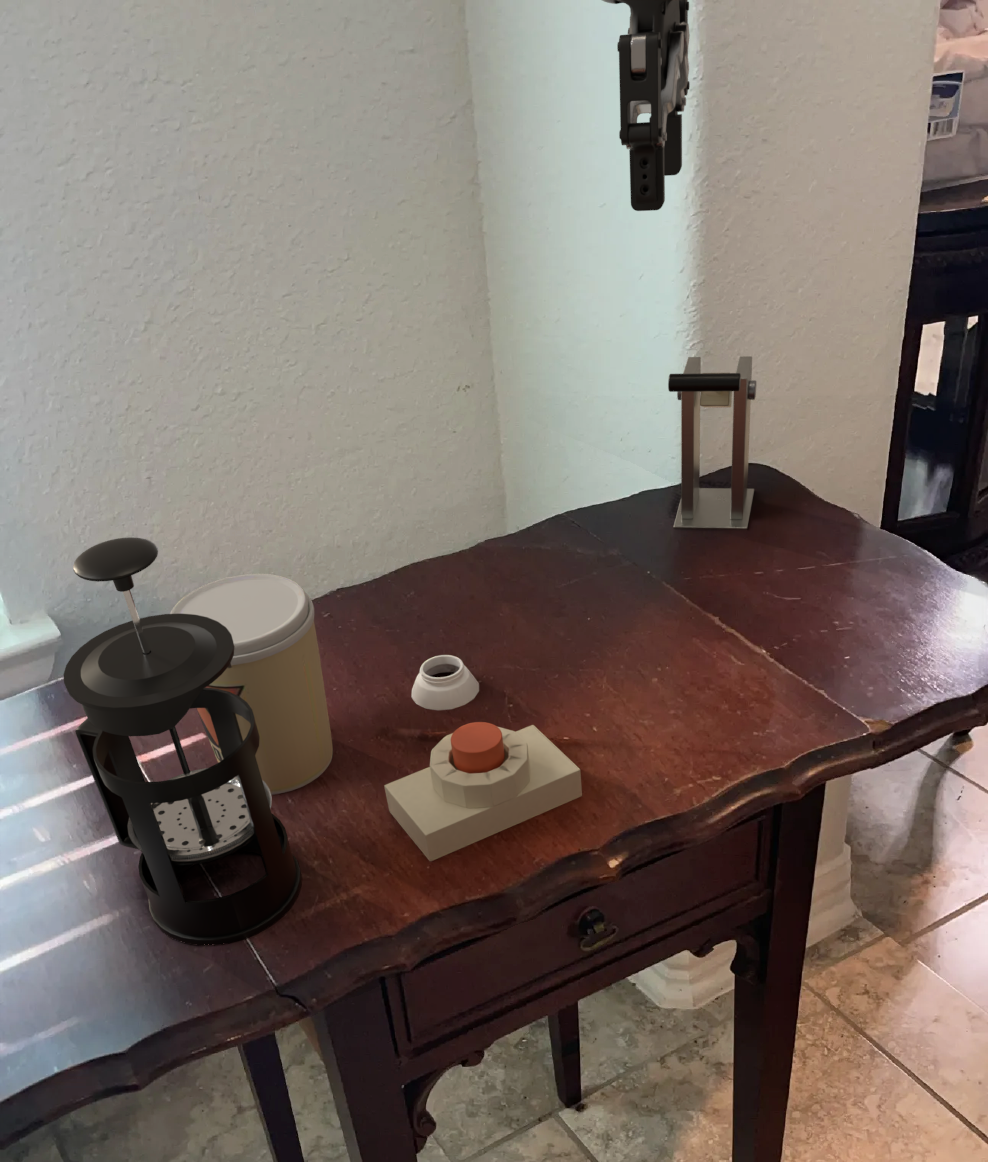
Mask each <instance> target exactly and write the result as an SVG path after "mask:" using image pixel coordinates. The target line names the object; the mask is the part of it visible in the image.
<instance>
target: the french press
mask: <svg viewBox="0 0 988 1162" xmlns="http://www.w3.org/2000/svg"><path fill="white" fill-rule="evenodd" d="M158 555H159V549H158V547H157V545H156V544H155V542H153V541H151V540H149V539H147V538H142V537H135V536H134V537H133V536H129V537H128V536H127V537H119V538H113V539H107V540H105V541H102V542H100V543H97V544H94V545H93V546H91V547H88V549H86V550H84V551H82V553H80V554H79V555H78V556H77V558H76V559H75V560H74V562H73V566H72V567H73V568H72V569H73V572H74V574H75V575H76V576H77V577H79V579H83V580H85V581H88V582H89V581H90V582H110V581H112V582H113V585H114V587H115V590H116V591H117V592H119V593H121V592H122V594H123V597H124V600H125V603H126V605H127V608H128V612H129V615H130V618H131V620H129V621H128V622H124V623H120V624H118V625H116V626H113V627H111V628H108V629H107V630H104V631H102V632H101V633H99V634H98V635H95V636H94V637H93V638H91V639H89V640H88V641H86V642H85V643H84V644H83V645H82V646H80V647H79V648H78V649H77V650H76V651H75V652H74V653H73V655H71V657H70V659H69V660H68V662H67V663H66V665H65V668H64V671H63V684H64V687H65V689H66V691H67V693H68V695H69V696H70V697H71V698H72V699H73V700H74V701H75V702H76V703H78V704H80V705H81V706H82V708H83V711H84V713H85V716H86V717H87V718H85V720H84V721H82V722H81V723H80V724H79V726H77V727H76V729H75V736H76V738H77V740H78V743H79V746H80V748H81V751H82V753H83V756H84V758H85V761H86V763H87V766H88V768H89V771H90V774H91V776H92V778H93V780H94V783H95V786H96V788H97V791H98V793H99V796H100V799H101V801H102V803H103V807H104V809H105V811H106V813H107V816H108V819H109V822H110V823H111V826H112V829H113V831H114V834H115V836H116V839H117V841H118V843H119V844H120V846H123V847H126V848H129V849H130V848H131V849H135V850H139V851H140V853H141V854H140V856H139V860H138V875H139V879H140V881H141V884H142V886H143V888H144V891H145V893H146V896H147V899H148V909H149V914H150V916H151V919H152V920H153V923H154V925H155V924H156V925H157V926H156V925H155V926H156V927H157V928H158V929H159V931H161V933H163V934H164V933H165V934H164V935H166V936H167V935H168V936H167V937H169V938H171V939H172V938H173V939H172V940H174V939H176V940H175V941H177V940H178V941H177V942H180V941H182V942H181V943H183V942H185V943H184V944H186V943H191V944H190V945H192V944H197V945H196V946H199V945H202V946H205V945H208V944H209V945H212V944H221V945H224V944H223V943H228V944H232V943H236V942H239V941H243V940H247V939H248V938H252V937H253V936H256V935H258V934H260V933H261V932H263V931H265V930H267V929H268V928H270V927H272V926H273V925H274V924H276V923H277V922H278V921H280V920H281V919H282V918H283V917H284V916H285V915H286V914H287V913H288V912H289V910H291V908H292V907H293V906H294V904H295V902H296V901H297V899H298V897H299V895H300V891H301V888H302V879H303V878H302V877H303V874H302V871H301V867H300V862H299V861H298V859H297V857H296V856H295V855H294V853H293V851H292V848H291V844H290V841H289V838H288V834H287V830H286V827H285V826H284V824H283V822H282V821H281V820H280V819H279V818H278V817H277V816H276V815H275V814H273V812H272V810H271V808H272V799H273V796H272V795H271V793H270V789H269V788H268V786H267V785H266V783H265V782H264V781H263V780H262V778H261V774H260V771H259V767H258V764H257V760H256V757H255V755H256V752H257V750H258V747H259V739H260V736H259V733H258V729H257V725H256V722H255V718H254V714H253V711H252V709H251V707H250V706H249V704H248V703H247V702H246V701H245V700H243V699H242V698H241V697H239V696H238V695H235V694H233V693H231V692H228V691H224V690H220V689H215V688H205V687H207V686H208V685H210V684H211V683H213V682H214V681H215V680H216V679H217V678H218V677H219V676H221V675H222V674H223V672H224V671H225V670H226V669H227V667H228V668H232V666H231V660H232V658H233V656H234V648H235V646H234V643H233V639H232V635H231V633H230V632H229V631H228V629H227V628H226V627H225V626H223V625H222V624H221V623H219V622H218V621H215V620H213V619H210V618H208V617H204V616H199V615H194V614H170V613H163V614H162V613H161V614H156V615H149V616H145V617H140V616H139V613H138V610H137V607H136V604H135V601H134V597H133V594H132V592H131V590H132V589H134V587H135V583H134V580H133V576H134V575H135V574H138V573H140V572H142V571H144V570H145V569H147V568H148V567H150V566H151V565H152V564H153V563H154V562H155V561H156V560H157V558H158ZM196 708H208V710H209V713H210V716H211V720H212V723H213V726H214V729H215V733H216V736H217V739H218V742H219V746H220V749H221V752H222V756H223V760H222V761H220V762H219V763H218V762H217V763H215V764H213V765H211V766H210V767H205V768H198V769H194V770H190V768H189V765H188V761H187V758H186V755H185V753H184V749H183V745H182V743H181V739H180V737H179V733H178V731H177V728H176V726H177V725H178V724H179V723H180V721H181V720H182V719H183V718H184V717H185V716H186V715H187V713H188V712H189V710H191V709H196ZM235 713H236V714H238V715H240V716H242V717H243V718H245V719H246V720H247V721H248V722H249V723H250V724H251V726H250V729H249V732H248V734H247V737H246V738H245V739H244V741H243V738H242V735H241V731H240V728H239V725H238V721H237V718H236V714H235ZM167 731H169V734H170V736H171V737H170V738H171V740H172V743H173V746H174V748H175V751H176V755H177V758H178V760H179V763H180V767H181V769H182V772H183V773H180V774H178V775H175V776H172V777H171V778H169V779H166V780H160V781H146V780H145V776H144V774H143V771H142V769H141V766H140V764H139V761H138V758H137V755H136V753H135V750H134V747H133V744H132V741H131V739H130V737H148V736H153V735H160V734H162V733H165V732H167ZM235 852H247V853H248V852H249V853H254V854H258V855H260V857H261V861H262V864H263V869H264V871H265V874H264V875H262V877H260V878H259V879H258V880H256V881H255V882H253V883H252V884H250V885H248V886H246V887H244V888H243V889H240V890H238V891H235V892H233V893H231V894H227V895H223V896H220V897H216V898H210V899H203V900H186V895H185V893H184V891H183V888H182V885H181V881H180V879H179V878H180V877H181V876H182V875H183V874H184V873H185V872H186V871H187V870H189V869H190V868H192V867H193V866H194V865H199V864H205V863H209V862H212V861H216V860H219V859H222V858H225V857H227V856H229V855H231V854H233V853H235ZM204 944H205V945H204Z"/></svg>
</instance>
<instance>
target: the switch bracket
mask: <svg viewBox="0 0 988 1162" xmlns="http://www.w3.org/2000/svg"><path fill="white" fill-rule="evenodd" d="M701 363H702V357H701V356H688V357H687V360H686V363H685V366H684V369H683V373H682V374H693V373H702V372H701V371H702V365H701ZM752 371H753V356H752V355H751V356H750V355H749V356H748V355H747V356H744V355H743V356H739V357H738V361H737V365H736V370H735V373H740V374H741V384H740V390H739V391H733V405H732V441H731V442H732V443H731V477H730V478H731V479H730V480H731V481H730V487H729V488H728V487H727V488H726V487H724V488H719V487H717V488H716V487H712V488H711V487H708V488H707V487H700V480H701V479H700V478H701V477H700V476H701V475H700V473H701V467H700V466H701V465H700V464H701V459H700V458H701V406H700V397H701V392H676V393H677V394H676V396H677V397H676V399H677V401H680V418H681V421H680V430H681V431H680V436H681V437H680V439H681V440H680V444H681V447H680V450H681V451H680V453H681V454H680V460H681V461H680V472H681V473H680V479H681V481H680V485H681V486H680V487H681V488H680V490H681V491H680V494H681V495H680V500H679V504H678V508H677V512H676V516H675V519H674V523H673V525H672V526H673V527H672V528H673V529H672V530H711V531H712V530H714V531H715V530H716V531H721V530H724V531H728V530H729V531H748V528H749V522H750V518H751V511H752V507H753V502H754V495H755V488H748V487H749V485H748V484H749V459H750V455H749V454H750V433H751V431H750V430H751V428H750V427H751V405H752V403H751V402H752V401H754V400H756V396H757V380H754V379H753V378H752V375H753V374H752V373H753V372H752ZM752 379H753V380H752Z"/></svg>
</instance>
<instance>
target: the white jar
mask: <svg viewBox="0 0 988 1162" xmlns="http://www.w3.org/2000/svg"><path fill="white" fill-rule="evenodd" d="M444 673H451V674H450V675H447V676H440V677H438V676H437V677H435V675H438V674H444ZM479 692H480V683H479V682H478V680H477V678H476V677H475V676H474V675H473V674H472V672H471V671H470V670H469V668H468V667H467V666H466V665H465V664H464V662H463V660H462V659H461V658H459V657H457V656H455V655H451V654H439V655H435V656H433V657H430V658H428V659H427V660H425V661H424V662H423V663H422V664H421V666H420V668H419V672H418V674H417V675H416V677H415V680H414V682H413V686H412V688H411V695H410V696H411V699H412V700H413V702H414V703H415V705H418V706H419V707H421V708H424V709H427V710H431V711H446V710H447V711H449V710H454V709H457V708H459V707H463V706H465V705H467V704H468V703H470V702H472V701H473V700H474V699H475V698H476V696H477V695H478V694H479Z"/></svg>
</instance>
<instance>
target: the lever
mask: <svg viewBox="0 0 988 1162" xmlns="http://www.w3.org/2000/svg"><path fill="white" fill-rule="evenodd" d="M740 384H741V374H740V373H736V372H701V373H693V374H683V373H670V374H669V375H668V383H667V388H668V392H669V393H672V392H673V393H675V392H676V393H677V392H700V407H702V408H706V409H707V408H708V409H709V408H731V407H732V399H733V392H734V391H739V390H740Z"/></svg>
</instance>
